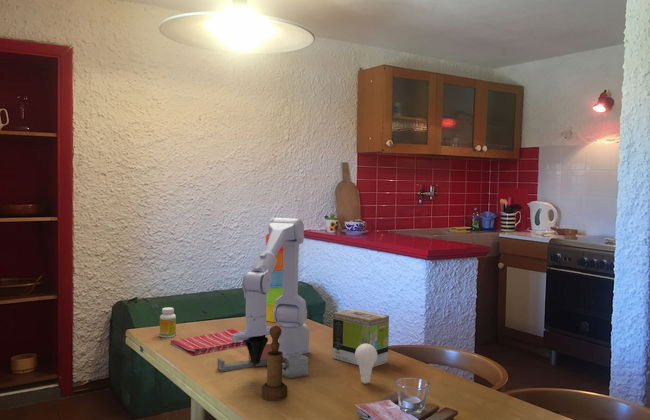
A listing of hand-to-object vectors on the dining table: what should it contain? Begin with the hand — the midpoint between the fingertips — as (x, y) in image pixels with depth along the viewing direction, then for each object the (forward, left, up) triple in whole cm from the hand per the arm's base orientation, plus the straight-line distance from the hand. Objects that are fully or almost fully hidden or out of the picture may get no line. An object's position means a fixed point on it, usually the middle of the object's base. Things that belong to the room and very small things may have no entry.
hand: (255, 363), depth 157 cm
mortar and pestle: (+1, +15, -4) cm, 15 cm away
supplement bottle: (+11, -53, -4) cm, 55 cm away
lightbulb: (-25, +18, -4) cm, 31 cm away
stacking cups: (-34, -59, -4) cm, 69 cm away
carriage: (-6, -10, -4) cm, 13 cm away
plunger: (-8, +2, -3) cm, 9 cm away
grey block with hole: (-11, +2, -4) cm, 12 cm away
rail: (-2, -10, -4) cm, 11 cm away
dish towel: (0, -37, -5) cm, 38 cm away
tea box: (-35, 0, -4) cm, 35 cm away
